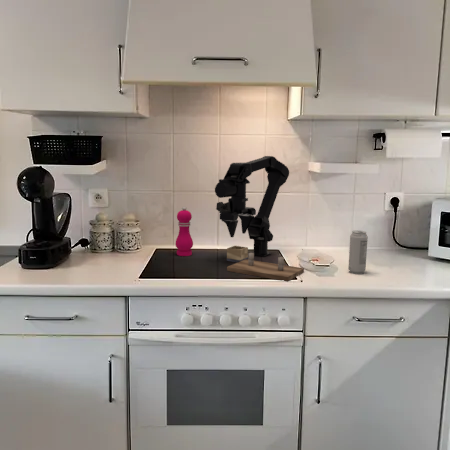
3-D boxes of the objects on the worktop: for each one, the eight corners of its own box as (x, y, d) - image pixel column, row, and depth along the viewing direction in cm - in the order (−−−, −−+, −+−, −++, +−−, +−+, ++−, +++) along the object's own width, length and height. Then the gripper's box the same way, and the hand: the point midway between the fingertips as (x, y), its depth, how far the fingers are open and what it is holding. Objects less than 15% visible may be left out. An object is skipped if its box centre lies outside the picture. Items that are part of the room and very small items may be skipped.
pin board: (245, 262, 190) (246, 247, 189) (303, 272, 177) (304, 256, 176) (227, 270, 178) (227, 254, 177) (287, 281, 166) (288, 264, 164)
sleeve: (234, 257, 198) (234, 245, 197) (247, 259, 195) (247, 247, 194) (226, 260, 193) (227, 248, 192) (240, 262, 190) (240, 250, 189)
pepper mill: (182, 257, 197) (181, 208, 194) (172, 254, 203) (171, 206, 199) (196, 254, 202) (196, 206, 198) (186, 251, 207) (186, 204, 204)
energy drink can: (354, 269, 182) (356, 229, 180) (368, 272, 178) (371, 232, 176) (344, 272, 178) (347, 231, 176) (359, 275, 174) (362, 234, 172)
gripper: (232, 192, 201) (232, 229, 204) (207, 196, 186) (207, 237, 188) (256, 194, 196) (256, 232, 198) (233, 198, 180) (232, 240, 183)
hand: (237, 235), depth 192 cm, fingers open, 9 cm apart
